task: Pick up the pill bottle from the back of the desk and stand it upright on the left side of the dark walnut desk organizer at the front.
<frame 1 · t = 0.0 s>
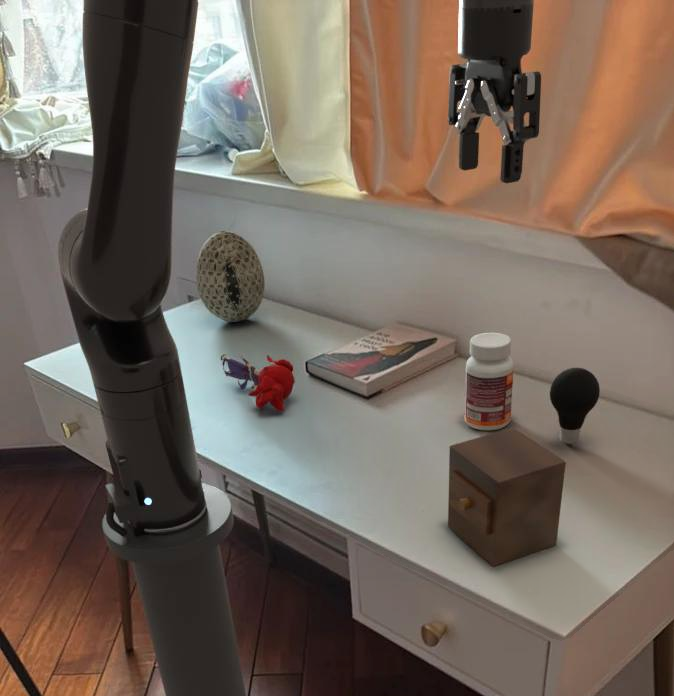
hand: (488, 175, 96), 30 cm above the table, tool pointing down, fingers open, 8 cm apart
decorative egg: (236, 321, 152), on the table
pill bottle: (486, 422, 115), on the table
light bulb: (568, 446, 108), on the table
organizer: (500, 535, 93), on the table
figurine: (257, 400, 125), on the table
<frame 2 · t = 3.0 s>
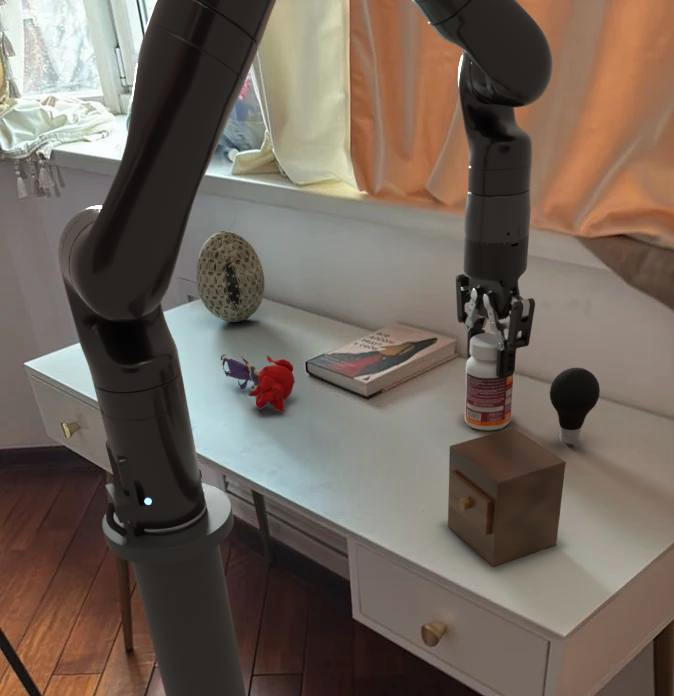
hand: (489, 367, 110), 8 cm above the table, tool pointing down, fingers closed on pill bottle, 6 cm apart
pill bottle: (487, 422, 115), on the table, touching gripper
everything else where it was.
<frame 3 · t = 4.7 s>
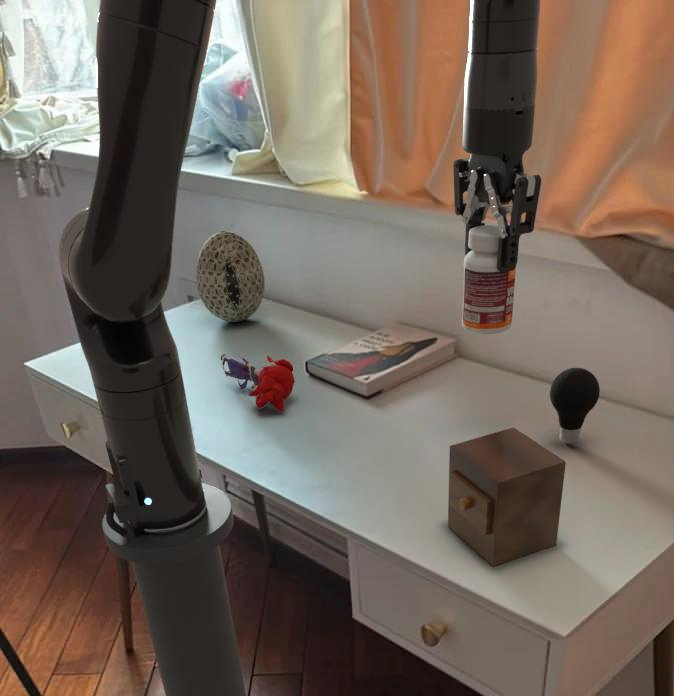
hand: (489, 262, 100), 21 cm above the table, tool pointing down, fingers closed on pill bottle, 6 cm apart
pill bottle: (486, 328, 105), point 13 cm above the table, touching gripper
everything else where it was.
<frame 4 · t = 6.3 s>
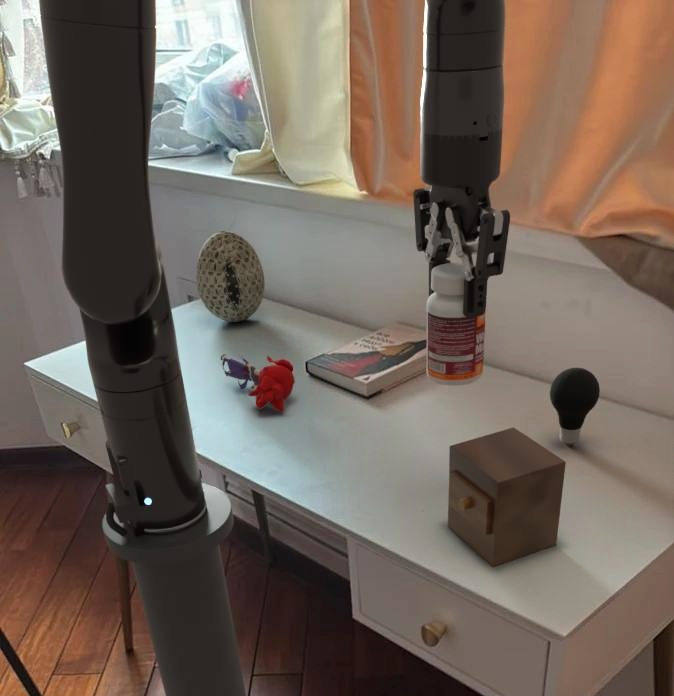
hand: (456, 306, 88), 22 cm above the table, tool pointing down, fingers closed on pill bottle, 6 cm apart
pill bottle: (454, 377, 93), point 14 cm above the table, touching gripper
everything else where it was.
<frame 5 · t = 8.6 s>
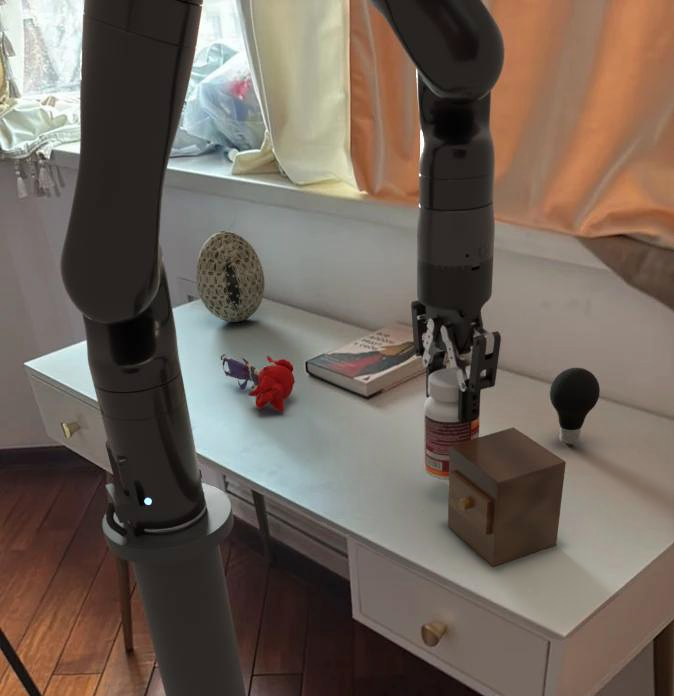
hand: (451, 408, 94), 11 cm above the table, tool pointing down, fingers closed on pill bottle, 6 cm apart
pill bottle: (450, 471, 98), point 3 cm above the table, touching gripper
everything else where it was.
when the fingers open (8 cm above the table, at t = 10.0 s): pill bottle stays where it is, on the table.
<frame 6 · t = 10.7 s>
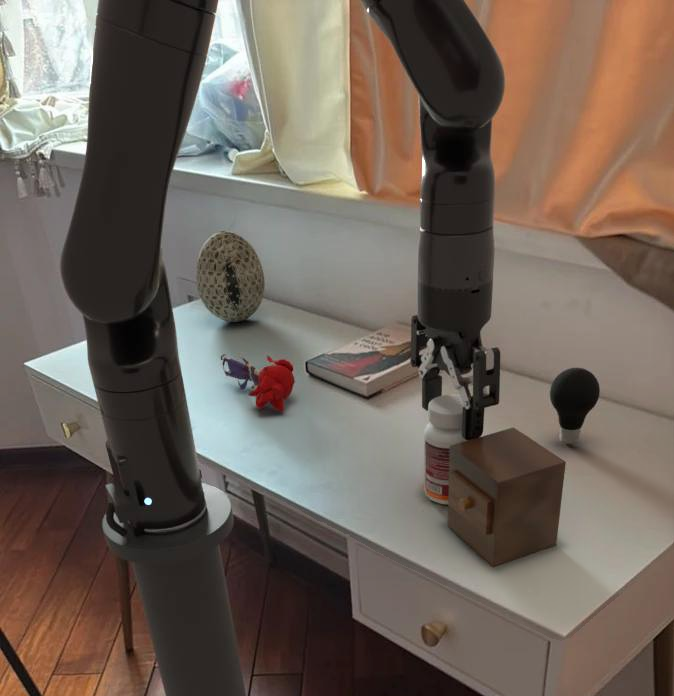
hand: (451, 422, 95), 9 cm above the table, tool pointing down, fingers open, 8 cm apart
pill bottle: (450, 494, 100), on the table
everything else where it was.
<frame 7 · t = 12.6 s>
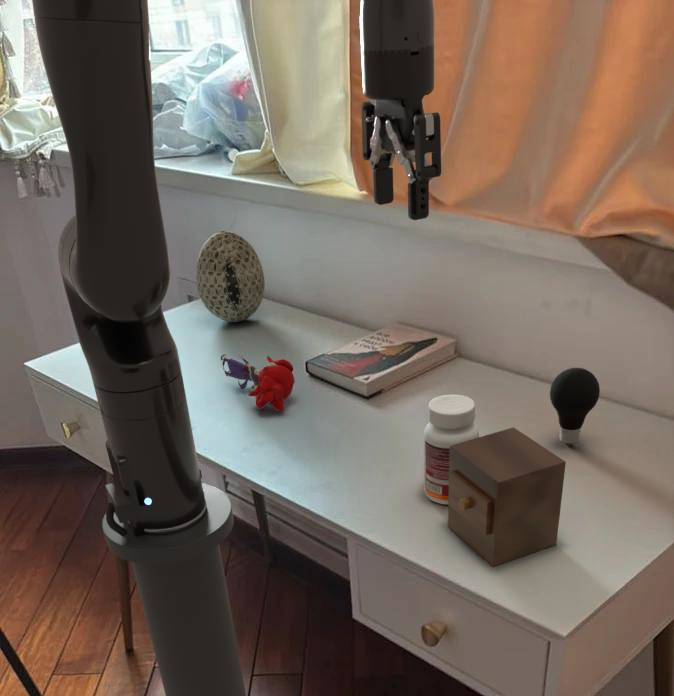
hand: (400, 210, 97), 28 cm above the table, tool pointing down, fingers open, 8 cm apart
nothing on the table moved.
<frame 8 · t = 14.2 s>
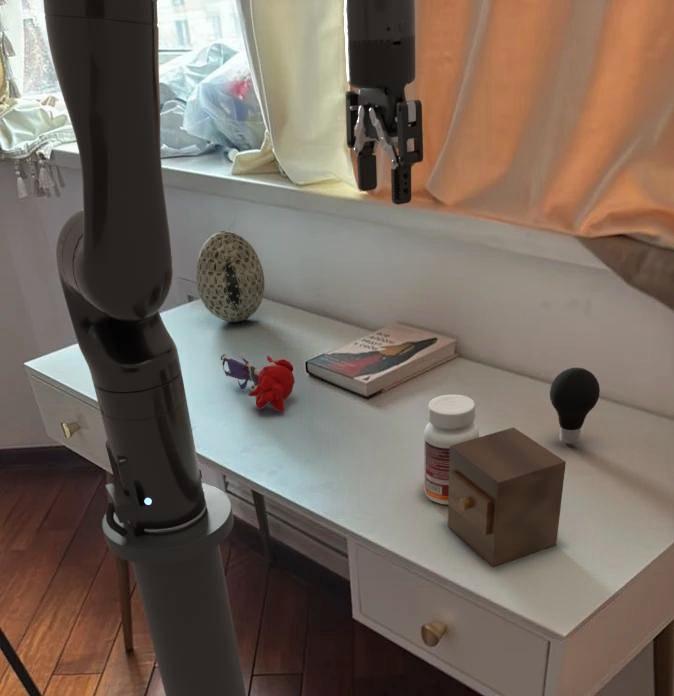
hand: (384, 196, 101), 28 cm above the table, tool pointing down, fingers open, 8 cm apart
nothing on the table moved.
at the end: pill bottle inside the target area on the table beside the organizer (0.2 cm from its centre), on the table; pill bottle tilted 0°; the gripper is holding nothing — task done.
